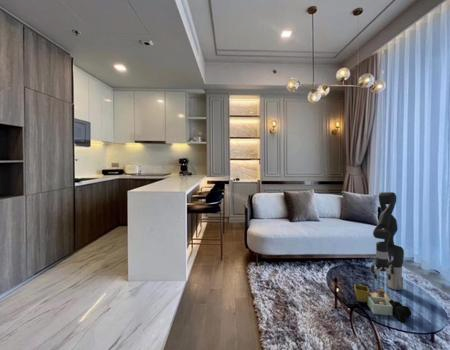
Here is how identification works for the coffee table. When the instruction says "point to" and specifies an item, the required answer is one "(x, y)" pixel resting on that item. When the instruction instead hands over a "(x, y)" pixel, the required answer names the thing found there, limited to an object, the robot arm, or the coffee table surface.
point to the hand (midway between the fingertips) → (382, 279)
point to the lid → (380, 294)
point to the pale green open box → (379, 305)
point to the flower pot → (361, 293)
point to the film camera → (400, 311)
